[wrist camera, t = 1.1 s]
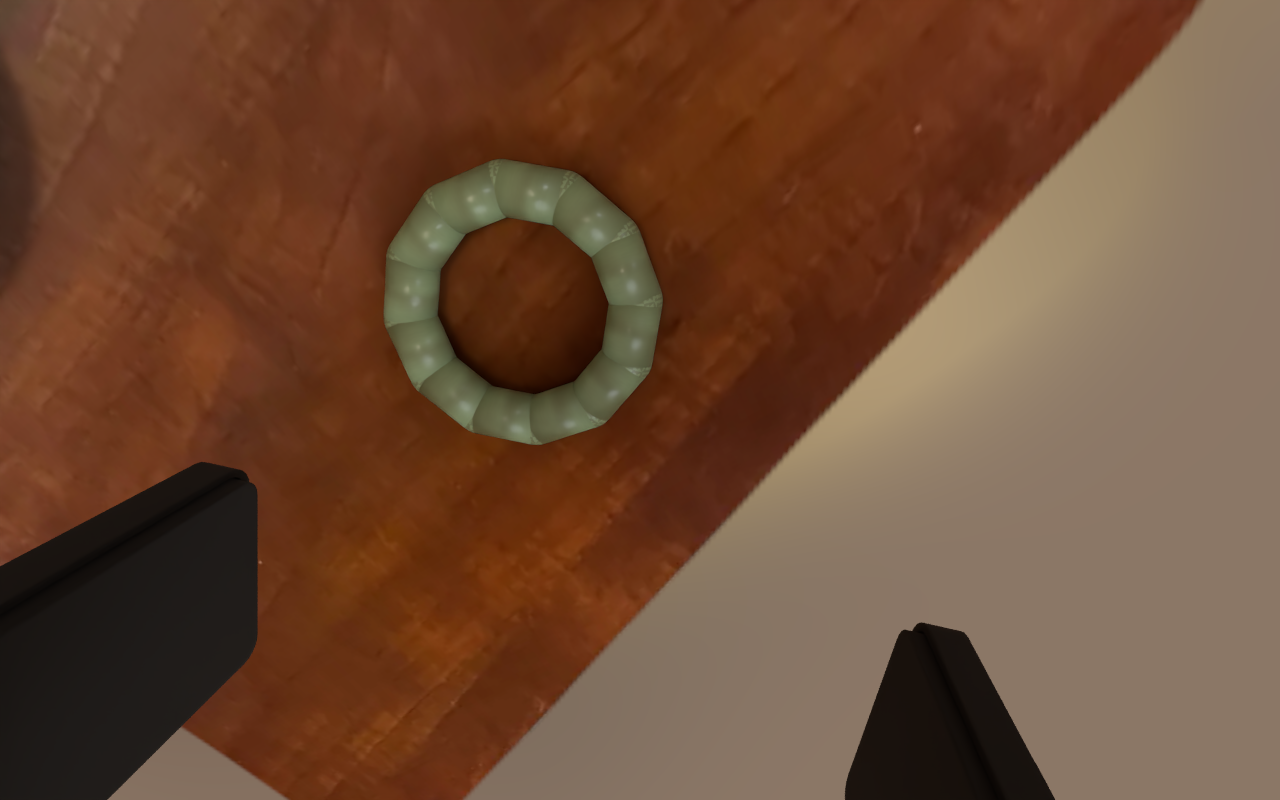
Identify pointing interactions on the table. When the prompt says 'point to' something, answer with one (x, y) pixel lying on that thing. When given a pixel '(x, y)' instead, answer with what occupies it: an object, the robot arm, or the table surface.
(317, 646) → the table surface
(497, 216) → the ring
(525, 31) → the table surface
